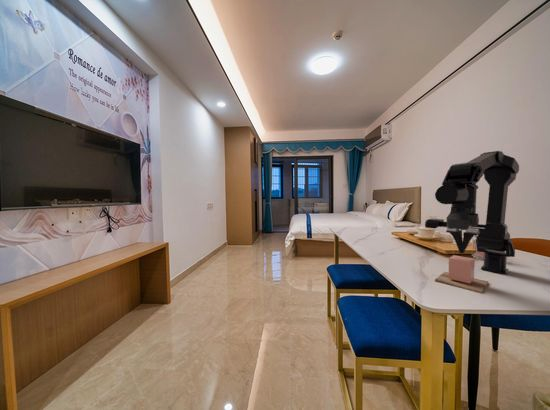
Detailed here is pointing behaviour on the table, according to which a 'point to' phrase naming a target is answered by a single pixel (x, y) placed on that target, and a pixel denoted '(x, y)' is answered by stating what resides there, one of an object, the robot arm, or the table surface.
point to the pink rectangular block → (461, 269)
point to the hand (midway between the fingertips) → (461, 253)
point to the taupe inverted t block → (463, 283)
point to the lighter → (478, 254)
